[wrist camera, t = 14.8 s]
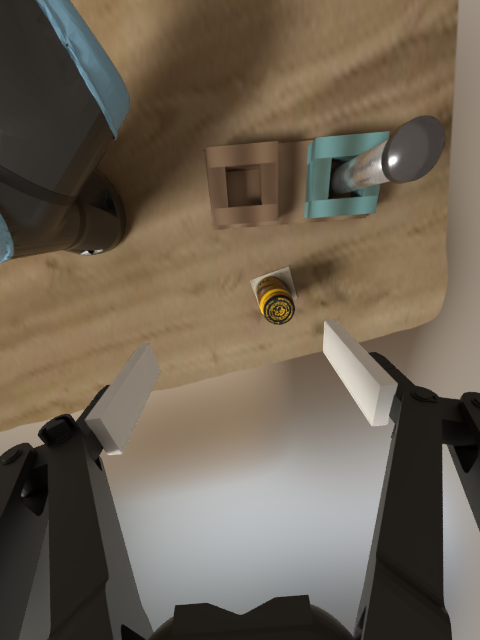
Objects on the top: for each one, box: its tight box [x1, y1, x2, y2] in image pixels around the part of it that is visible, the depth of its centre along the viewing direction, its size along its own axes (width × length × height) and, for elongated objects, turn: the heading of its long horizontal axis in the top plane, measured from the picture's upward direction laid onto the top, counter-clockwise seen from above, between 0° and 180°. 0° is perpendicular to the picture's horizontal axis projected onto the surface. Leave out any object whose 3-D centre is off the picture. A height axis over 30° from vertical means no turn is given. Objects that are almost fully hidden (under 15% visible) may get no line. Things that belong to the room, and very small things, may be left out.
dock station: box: [204, 131, 390, 230], centre depth 35 cm, size 28×12×5 cm, turn 94°
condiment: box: [250, 266, 297, 325], centre depth 40 cm, size 7×8×12 cm
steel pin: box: [328, 116, 445, 196], centre depth 28 cm, size 5×5×18 cm
